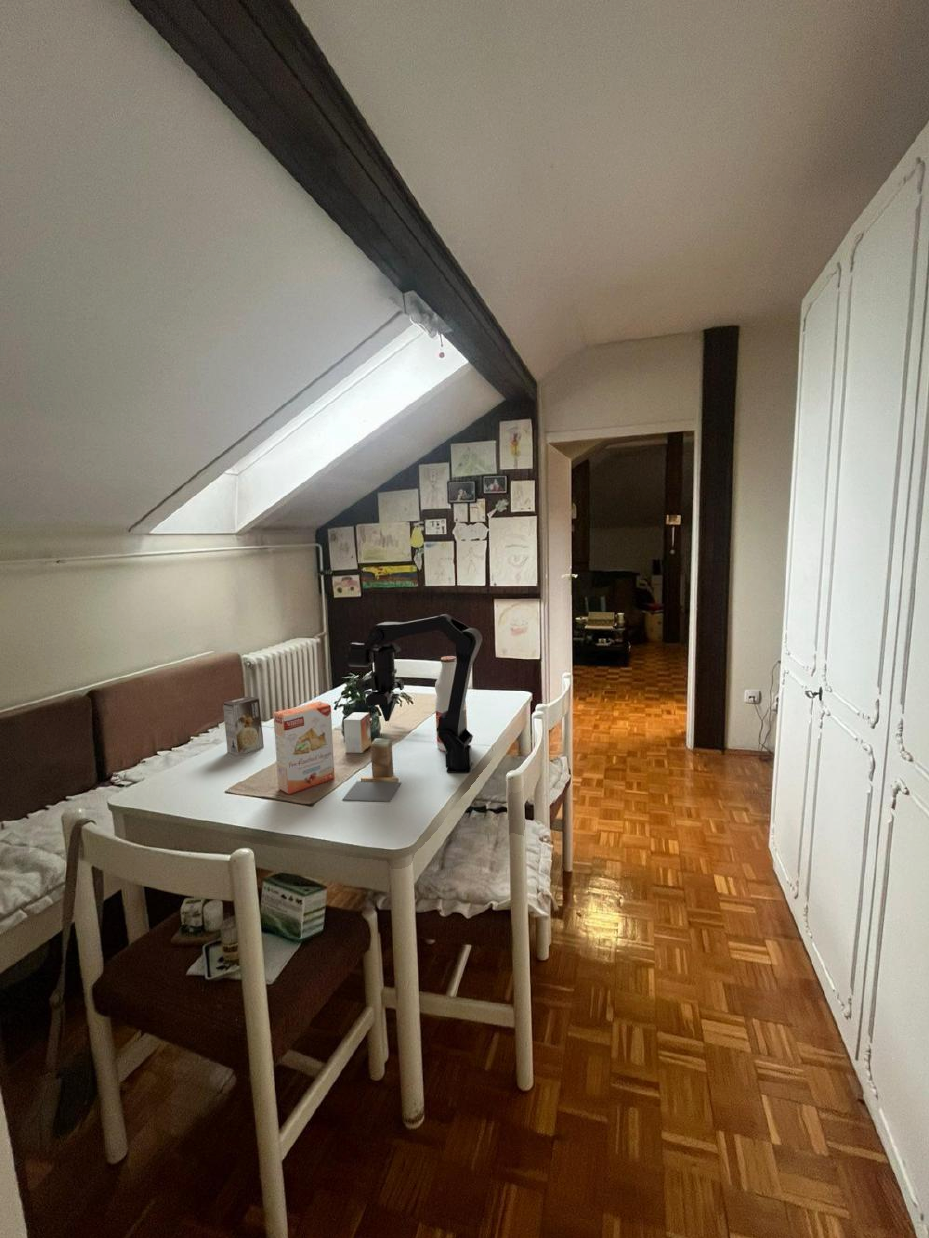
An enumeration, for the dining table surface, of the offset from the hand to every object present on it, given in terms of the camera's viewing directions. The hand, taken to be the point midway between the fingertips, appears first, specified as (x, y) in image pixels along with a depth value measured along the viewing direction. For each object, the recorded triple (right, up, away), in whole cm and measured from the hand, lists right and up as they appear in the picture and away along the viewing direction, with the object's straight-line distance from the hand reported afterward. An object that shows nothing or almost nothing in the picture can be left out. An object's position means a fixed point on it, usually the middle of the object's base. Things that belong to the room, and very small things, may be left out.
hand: (387, 720), depth 167 cm
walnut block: (0, -14, -8) cm, 16 cm away
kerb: (-1, -14, -11) cm, 18 cm away
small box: (-11, -11, +14) cm, 21 cm away
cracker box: (-20, -15, -11) cm, 27 cm away
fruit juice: (+18, -10, +13) cm, 25 cm away
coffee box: (-47, -12, +17) cm, 51 cm away
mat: (-1, -15, -18) cm, 23 cm away
